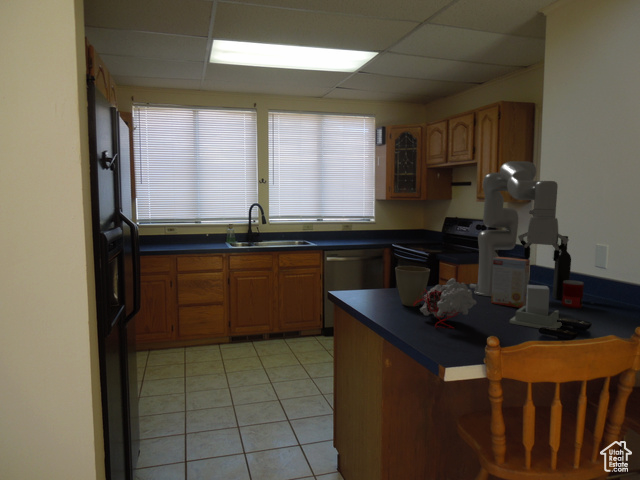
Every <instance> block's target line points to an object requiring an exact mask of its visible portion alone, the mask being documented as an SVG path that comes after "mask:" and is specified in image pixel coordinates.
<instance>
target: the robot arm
mask: <svg viewBox="0 0 640 480" xmlns="http://www.w3.org/2000/svg"><path fill="white" fill-rule="evenodd" d="M536 174H537V167H536V165H535V164H534V163H533V162H531V161H517V160H516V161H514V160H511V161H506V162H505V163H503V164H502V165H501V166H500V168H499V172H490V173H488V174H486V175H485V176H484V178H483V180H482V190H483V194H484V195H483V196H484V205H483V215H482V216H483V217H482V219H483V225H484V226H485V227H487V228H498V229H485V230H482V231H480V232H479V234H478V236H477V243H478V252H479V253H478V254H479V255H478V271H477V272H478V273H477V275H478V276H477V283H469V288H470V289H474V291H473V293H474V294H475V295H478V296H483V297H492V277H493V259H494V258H495V257H500V256H499V255H498V253H497V252H496V251H497V250H498V251H499V250H503V251H505V250H506V251H507V250H509V251H510V250H513V249H514V248H515V246H516V244H517V236H518V240H519V241H520V244H521V245H522V246H523V248H524V256H525V258H526V259H530V257H531V247H530V246H531V245H543V246H544V245H545V246H547V245H548V246H552V247H553V248H554V250H553V261H554V262H555V261H557V259H559V252H560V249H562V248H563V247H564V246H565V245H566V244H567V245H568V242H569V240H570V239H569V237H568V238H566V237H564V236H565V235H562V234H561V233H559V222H558V218H557V217H556V216H557V215H556V214H557V199H558V182H556V181H555V180H534V179H535V177H536ZM502 192H508V194H509V195H510V196H511V197H512V198H514V199H515V200H519V201H533V209H532V210H529V212H528V213H529V215H532V216H531V217H530V219H529V223H528V227H527V232H525V233H523V234H520V235H518V229H519V214H518V212H517V210H516V209H514V208H511V207H504V201H505V199H504V196H503V194H502ZM499 228H501V229H499ZM503 229H504V230H503ZM524 238H526V240H525V239H524ZM559 240H560V241H561V240H563V242H562V244H561V243H560V245H559V244H558V243H559Z"/></svg>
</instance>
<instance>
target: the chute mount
mask: <svg viewBox="0 0 640 480" xmlns="http://www.w3.org/2000/svg"><path fill="white" fill-rule="evenodd" d="M559 315H560V310H557V309H556V310H554V311H552V313H551V314H548V316H547V315H540V314H534V313H528V312H526V306H523V307H522V308H518V309H517V310H516V311H515V315H514V316H513V317H511V318H510V319H509V324H513V325H518V326H523V327H530V328H535V329H540V328H541V327H549V328H559V329H560V328H561V327H562V326H563V325H562V323H561V322H557V320H558V319H560V318H559Z"/></svg>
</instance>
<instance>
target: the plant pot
mask: <svg viewBox="0 0 640 480" xmlns="http://www.w3.org/2000/svg"><path fill="white" fill-rule="evenodd" d="M394 271H395V279H396V285H397V289H398V293H399V298H400V301H401V304H402V305H404V306H407V307H419V306H420V305H421V302H422V301H419V302H417V301H418V300H420V299H422V298H424V295H425V292H426V291H425V290H424V289H426V290H427V285H428V282H429V278H430V275H431V273H430V272H431V269H430V268H428V267H427V268H426V267H422V266H415V265H414V266H413V265H401V266H400V265H399V266H396V267H395V269H394ZM424 291H425V292H424ZM422 292H423V293H422ZM421 293H422V294H421ZM418 296H419V297H418ZM417 298H418V299H417ZM416 300H417V301H416ZM415 301H416V302H417V303H416V302H415ZM414 302H415V303H416V304H415V306H413V304H414Z"/></svg>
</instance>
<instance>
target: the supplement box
mask: <svg viewBox="0 0 640 480" xmlns="http://www.w3.org/2000/svg"><path fill="white" fill-rule="evenodd" d="M550 291H551V290H550V287H548V286H547V285H537V284H536V285H535V284H528V285H527V299H526V312H528V313H534V314H540V315H547V316H549V304H550Z"/></svg>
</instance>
